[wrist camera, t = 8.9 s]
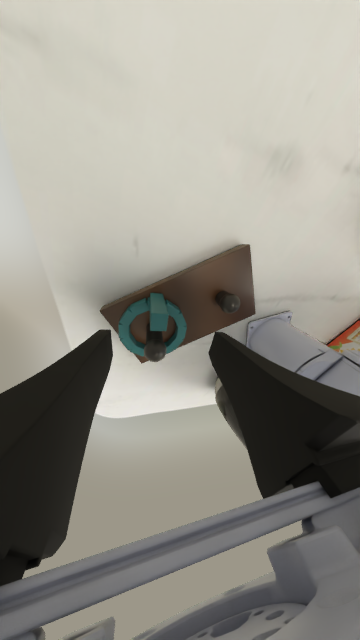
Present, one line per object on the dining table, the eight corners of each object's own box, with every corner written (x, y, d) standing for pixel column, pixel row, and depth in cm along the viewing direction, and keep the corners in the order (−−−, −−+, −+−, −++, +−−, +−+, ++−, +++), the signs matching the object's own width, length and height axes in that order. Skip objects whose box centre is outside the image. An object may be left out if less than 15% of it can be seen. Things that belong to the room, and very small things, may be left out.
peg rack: (242, 243, 17) (295, 245, 11) (249, 309, 22) (287, 336, 16) (102, 305, 18) (78, 341, 11) (141, 356, 23) (139, 399, 17)
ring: (179, 350, 22) (188, 381, 17) (121, 351, 20) (113, 386, 15) (190, 296, 18) (205, 316, 13) (118, 289, 15) (105, 310, 11)
